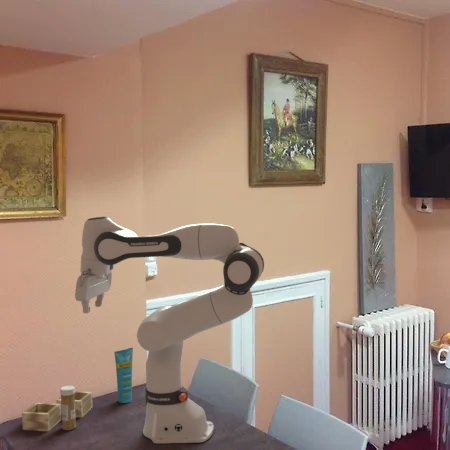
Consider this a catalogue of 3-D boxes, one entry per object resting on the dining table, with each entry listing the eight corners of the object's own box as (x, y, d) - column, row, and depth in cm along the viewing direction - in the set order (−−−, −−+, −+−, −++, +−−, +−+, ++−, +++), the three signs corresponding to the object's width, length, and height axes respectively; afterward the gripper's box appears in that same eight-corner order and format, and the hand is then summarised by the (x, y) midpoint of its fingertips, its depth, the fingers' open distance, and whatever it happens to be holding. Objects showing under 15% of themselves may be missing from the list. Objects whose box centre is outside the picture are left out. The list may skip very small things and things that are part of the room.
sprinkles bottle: (78, 428, 191) (76, 388, 190) (64, 432, 189) (62, 391, 188) (73, 423, 195) (71, 384, 194) (59, 427, 193) (58, 387, 192)
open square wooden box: (61, 420, 198) (60, 403, 198) (48, 431, 190) (47, 414, 189) (36, 418, 200) (35, 402, 200) (22, 429, 191) (21, 412, 191)
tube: (120, 405, 210) (118, 352, 209) (112, 402, 214) (110, 350, 212) (137, 399, 216) (135, 348, 214) (129, 396, 219) (128, 345, 218)
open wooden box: (92, 407, 209) (91, 392, 209) (81, 417, 200) (81, 401, 200) (68, 406, 211) (68, 390, 210) (57, 416, 202) (56, 400, 202)
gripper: (90, 273, 177) (88, 318, 179) (115, 263, 197) (113, 304, 199) (71, 271, 179) (68, 315, 180) (98, 261, 199) (95, 301, 200)
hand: (92, 309), depth 189 cm, fingers open, 8 cm apart
